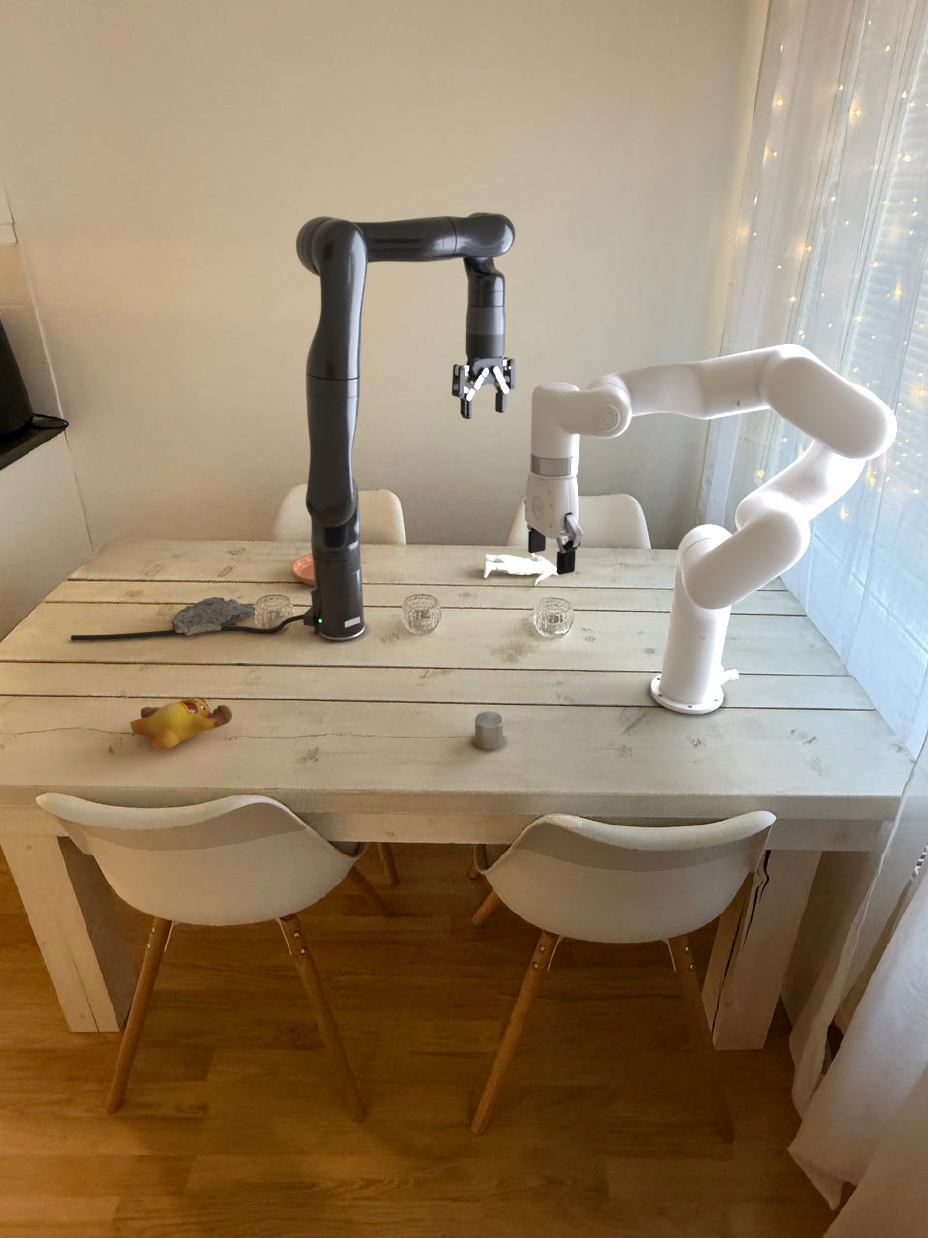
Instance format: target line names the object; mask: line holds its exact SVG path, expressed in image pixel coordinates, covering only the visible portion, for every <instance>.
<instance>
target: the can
mask: <svg viewBox="0 0 928 1238" xmlns="http://www.w3.org/2000/svg"><path fill="white" fill-rule="evenodd" d="M503 731H504V718H503V716H502V715H501V714H499V713H498V712H496V711H482V712H479V713H478V714H476V716H475V718H474V744H475V745H476V746H477V747H478V748H479V749H482V750H486V751H492V750H496V749H498V748H500V747H501V746H502V744H503V733H504V732H503Z"/></svg>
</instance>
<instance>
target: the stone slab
mask: <svg viewBox="0 0 928 1238" xmlns="http://www.w3.org/2000/svg"><path fill="white" fill-rule="evenodd" d="M255 610H256V607H255V606H253V605H252V604H246V603H243V604H241V603H239V601H237V600H236V599H232V598H231V599H228V600H226V599H225V598H224V597H217V596H212V597H208V598H203V600H200V601H198V602H196V603H195V604H193V605H186V606H185V607H184V608H183V609H180V610H179V611H178V612H177V613H176V614H174V615H173V617H172V619H171V621H170V623H171V626H173V629H174V630H175V632H177V633H183V634H182V635H184V636H186V637H187V636H194V635H197V634H201V633H208V632H207V631H216V632H219V631H218V630H221V629H222V628H223V627H224V626H230V624H232V623H233V622H236V621H239V620H245V619H246V618H248V617H252V616H255V615H256V614H255Z"/></svg>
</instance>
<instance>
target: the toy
mask: <svg viewBox="0 0 928 1238" xmlns="http://www.w3.org/2000/svg"><path fill="white" fill-rule="evenodd" d="M140 717H141V718H139V719H134V720H131V721H130V722H129V724H130V728H131V731H132V732H133V734H136V735H138V736H144V737H146V738H147V739H149V740H150V741H151V742H152V743H151V746H152V749H153V750H154V751H166V750H170V749H172V748H174V747H176V746H177V745H178V744H180V743H181V742H183V741H184V742H185V741H186V740H190V739H192V738H194V737H196V736H198V735H199V734H200V733H202V732H204V731H210V730H214V729H217V728H220V727H222V726H224V725H227V724H228V723H230V722H231V720H232V718H233V712H232V710H231V708H230V706H227V705H225V704H219V705H217V706H216V708H214V709H213V711H212V712H211V707H210V706H209V704H208V703H207V701H206V700H205V699H203V698H201V697H196V698H195V697H188V698H186V699H181V700H179V701H175V702H171V703H167V704H165V705H163V706H160V707H159V706H158V707H155V706H154V707H151V706H145V707H142V708H141V709H140Z"/></svg>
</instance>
